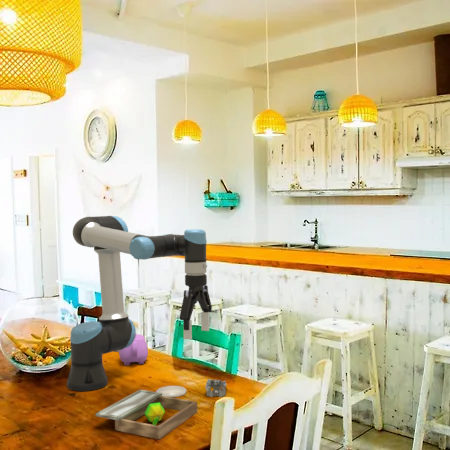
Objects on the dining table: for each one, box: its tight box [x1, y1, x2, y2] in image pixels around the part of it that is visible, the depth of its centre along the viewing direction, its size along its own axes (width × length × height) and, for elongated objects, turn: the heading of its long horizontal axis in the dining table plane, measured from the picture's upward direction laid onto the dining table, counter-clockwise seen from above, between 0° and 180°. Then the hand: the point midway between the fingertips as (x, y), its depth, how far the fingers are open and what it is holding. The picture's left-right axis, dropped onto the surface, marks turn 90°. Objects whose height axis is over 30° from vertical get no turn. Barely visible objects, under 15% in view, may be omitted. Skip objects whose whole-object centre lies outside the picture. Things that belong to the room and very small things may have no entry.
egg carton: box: [204, 378, 227, 398], centre depth 201 cm, size 11×8×4 cm
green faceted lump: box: [144, 402, 166, 426], centre depth 173 cm, size 7×6×9 cm
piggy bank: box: [118, 333, 149, 366], centre depth 241 cm, size 20×12×13 cm, turn 14°
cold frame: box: [95, 389, 198, 440], centre depth 176 cm, size 23×24×4 cm
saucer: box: [155, 385, 187, 398], centre depth 201 cm, size 11×11×1 cm
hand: (196, 334), depth 191 cm, fingers open, 13 cm apart
